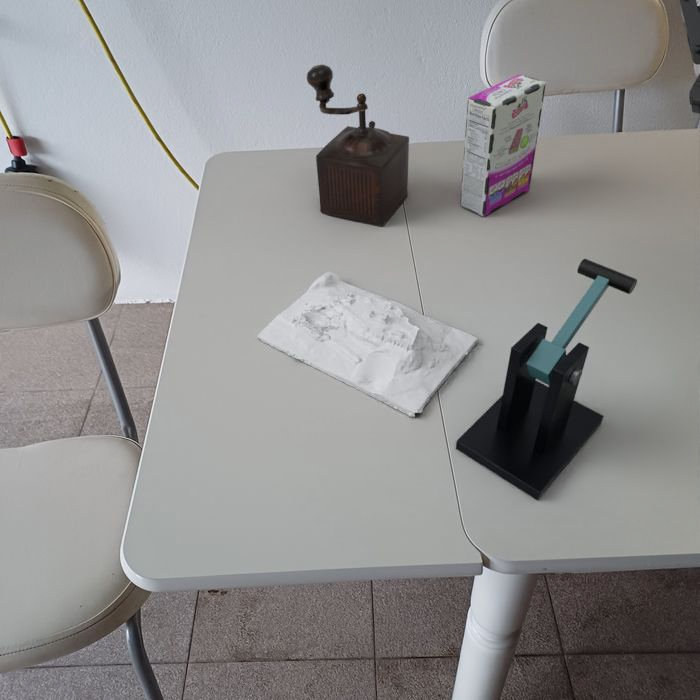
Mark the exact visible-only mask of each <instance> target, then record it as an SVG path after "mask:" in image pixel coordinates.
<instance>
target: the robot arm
mask: <svg viewBox="0 0 700 700" xmlns="http://www.w3.org/2000/svg"><path fill="white" fill-rule="evenodd" d="M679 6H680V15H681V21H682V24H683V28H684V33H685V37H686V41H687V45H688V48H689V52H690V57H691V60H692V62H693V64H694V65H700V0H679ZM688 99H689V105H691V111H692V113H694V114H698V115H700V73H698V75H697V77H696V79H695V81H694V83H693V84H692V86H691V87H690V90H689V94H688Z"/></svg>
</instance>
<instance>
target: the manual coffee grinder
mask: <svg viewBox="0 0 700 700" xmlns="http://www.w3.org/2000/svg"><path fill="white" fill-rule="evenodd" d="M333 78H334V72H333V70H332V68H331V66H329V65H326V64H317V65H314V66H312V68H310V69H309V70H308V72H307V73H306V81H307V84H308V85H309V86H311V87H312V89H314V91H315V101H317V102H319V105H318V107H319V111H320V112H321V114H323V115H324V114H325V115H339V116H340V115H342V116H343V115H351V114H355V113H358V121H359V123H358V124H359V125H358V126H357V127H355V126H349V125H347V126H346V127H345V128H343V129H342V130H341V131H340V132H339V133H338V134H337V135H336V136H334V137H333V138H332V139H331V140H330V141H329V142H327V144H325V146H324V147H322V148H321V150H320V151H319V152H318V153H317V154H316V155H315V162H316V173H317V182H318V183H317V184H318V193H319V206H320V209H319V211H320V213H321V214H323V215H326V216H329V217H332V218H338V219H341V220H346V221H349V222H350V221H351V222H355V223H360V224H365V225H366V224H367V225H371V226H378V227H383V226H384V225H385V224H386V223H388V221H390V219H392V217H393V216H394V215H395V213H396V212H397V211H398V209H400V207H401V206H402V204H403V203H404V202H405V201H406V199H407V198H408V193H409V190H408V181H409V158H410V157H409V156H410V155H409V152H410V151H409V149H410V136H407V135H403V134H402V135H401V134H397V133H396V134H395V133H391V132H389V131H387V130H385V129H381V128H377V127H376V122H375V120H371V121H369V122H368V126H367V121H366V119H367V118H366V111H367V110H368V109H369V108H368V104H367V103H366V101H367V96H366V95H365V93H363V92H362V93H358V95H357V96H356V102H357V104H356V106H351V107H327V104H328V103H329V102H330V100H331V99H333V98H334V97H335V93H334V92H333V89H332V88H331V83H332V81H333Z"/></svg>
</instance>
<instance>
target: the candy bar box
mask: <svg viewBox="0 0 700 700" xmlns="http://www.w3.org/2000/svg"><path fill="white" fill-rule="evenodd" d="M546 85H547V82H546V81H544V80H540V79H537V78H534V77H531V76H527V75H526V74H525V75H524V74H517V75H514V76H512V77H510V78H508V79H505V80H503V81H501V82H499V83H496V84H495V85H492V86H491V87H488V88H486V89H484V90H481V91H479V92H476V93H475V94H473V95H470V96H468V97H467V106H466V119H465V120H466V122H465V133H464V134H465V135H464V137H465V138H464V151H463V159H462V173H461V187H460V200H459V206H460V207H462V209H465V210H468V211H470V212H472V213H474V214H476V215H479V217H483V218H485V217H487V216H488V215H491V214H492V213H494V212H495V211H497V210H499V209H500V208H503V206H505V205H506V204H508V203H511V202H512V201H513V200H515V199H516V198H518V197H520V196H521V195H523V194H525V193H527V192H528V191H530V190H531V183H532V182H531V181H532V177H533V176H532V175H533V169H534V162H535V156H536V151H537V142H538V135H539V130H540V124H541V118H542V111H543V103H544V96H545V91H546Z"/></svg>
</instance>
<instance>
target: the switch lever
mask: <svg viewBox="0 0 700 700" xmlns="http://www.w3.org/2000/svg"><path fill="white" fill-rule="evenodd" d="M576 272H577V273H578V274H579V275H582V276H584V277H586V278H589V279H591V280H594V281H592V283H591V285H590V286H589V287H588V289H587V291H586V292H585V293H584V295H583V296H582V297H581V299H580V300H579V302H578V303H577V305H576V306H575V307H574V309H573V310H572V312H571V313H570V315H569V316H568V318H567V319H566V321H565V322H564V324H563V325H562V326H561V328H560V329H559V330H558V332H557V333H556V335H555V336H554V338H553V339H552V340H551V341H549V340H547V339H546V338H545V339H543V340H542V341H541V343H540V344H539V346H538V347H537V348H536V350H535V351H534V353H533V354H532V356H531V357H530V358H529V360H528V361H527V363H526V365H527V370H528V374H529V375H530V376H532V377H534V378H536V380H537V381H540V383H542V384H544V385H546V386H549V384H550V380H551V376H552V372H553V369H554V368H555V367H556V366H557V365H558V364H559V362H560V361H561V360H562V359H563V358H564V357H565V356H566V355H567V350H566V349H567V347H568V346H569V344H570V343H571V342H572V340H573V338H574V337H575V336H576V334H577V333H578V331H579V330H580V329H581V327H582V326H583V324H584V323H585V321H586V320H587V319H588V317H589V316H590V315H591V312H593V310H594V308H595V307H596V305H597V304H598V303H599V301H600V300H601V299H602V297H603V296H604V294H605V292H606V291H607V290H608V288H609V287H611V288H613V289H615V290H618V291H620V292H623V293H625V294H628V295H631V294H632V293H633V292H634V290H635V288H636V286H637V284H638V278H635V277H633V276H631V275H628V274H625V273H623V272H620V271H617V270H616V269H615V270H614V269H612V268H610V267H607V266H605V265H602V264H599V263H597V262H595V261H592V260H590V259H587V258H583V259H582V260H581V261H580V263H579V265H578V267H577V271H576Z"/></svg>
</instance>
